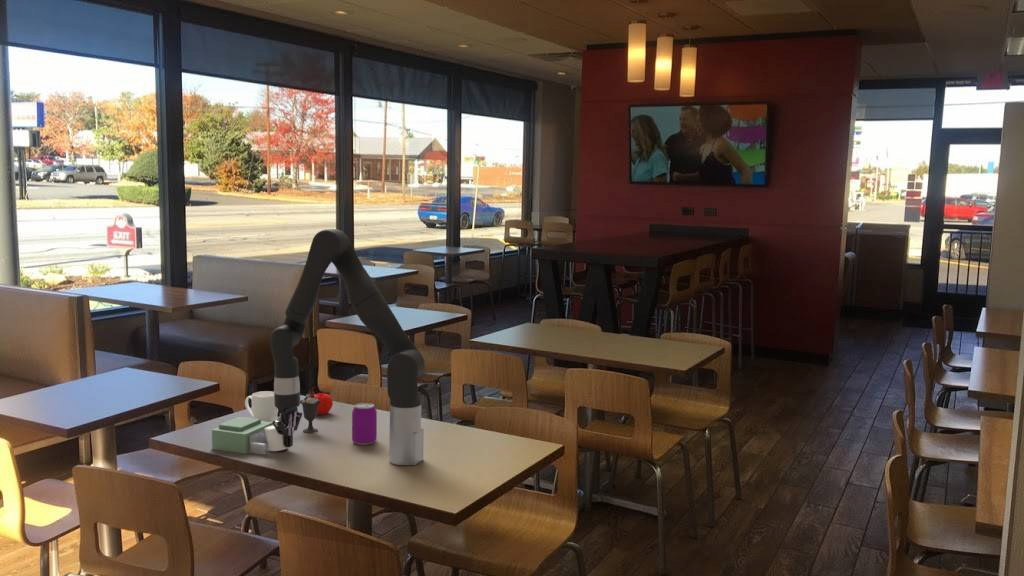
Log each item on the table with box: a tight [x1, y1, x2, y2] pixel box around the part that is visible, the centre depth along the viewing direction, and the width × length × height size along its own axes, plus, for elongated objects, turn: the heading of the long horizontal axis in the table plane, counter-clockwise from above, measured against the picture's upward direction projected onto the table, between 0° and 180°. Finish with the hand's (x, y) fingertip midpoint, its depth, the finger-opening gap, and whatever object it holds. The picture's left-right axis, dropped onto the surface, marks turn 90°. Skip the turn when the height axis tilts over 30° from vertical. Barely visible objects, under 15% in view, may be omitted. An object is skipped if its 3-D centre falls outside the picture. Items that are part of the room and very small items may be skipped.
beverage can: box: [351, 402, 378, 446], centre depth 264 cm, size 8×8×12 cm
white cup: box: [264, 425, 289, 452], centre depth 254 cm, size 7×7×7 cm
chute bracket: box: [248, 430, 268, 456], centre depth 255 cm, size 6×11×5 cm, turn 162°
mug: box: [244, 390, 278, 422], centre depth 278 cm, size 12×8×11 cm
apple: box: [315, 393, 334, 415], centre depth 296 cm, size 8×8×7 cm
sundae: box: [300, 387, 321, 434], centre depth 274 cm, size 7×7×15 cm
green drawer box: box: [211, 416, 273, 454], centre depth 258 cm, size 12×14×7 cm
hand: (288, 446), depth 253 cm, fingers closed
